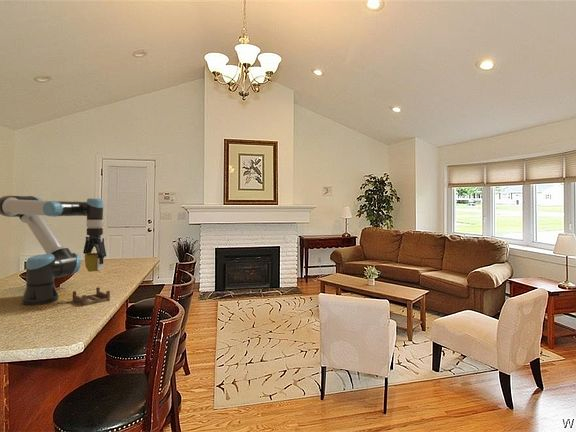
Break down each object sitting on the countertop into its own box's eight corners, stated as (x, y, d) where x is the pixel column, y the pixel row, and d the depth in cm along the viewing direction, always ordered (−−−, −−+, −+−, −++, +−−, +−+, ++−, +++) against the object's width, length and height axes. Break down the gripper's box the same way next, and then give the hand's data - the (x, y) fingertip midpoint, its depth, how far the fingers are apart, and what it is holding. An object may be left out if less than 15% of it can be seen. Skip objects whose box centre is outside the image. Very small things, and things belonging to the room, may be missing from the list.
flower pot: (103, 271, 181) (103, 254, 181) (84, 272, 177) (84, 255, 177) (104, 268, 189) (104, 252, 189) (85, 269, 185) (85, 253, 185)
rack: (83, 305, 170) (83, 295, 170) (72, 301, 178) (72, 291, 177) (109, 300, 180) (109, 291, 180) (98, 296, 188) (98, 287, 188)
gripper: (114, 228, 179) (113, 270, 179) (90, 226, 192) (90, 265, 193) (99, 229, 173) (99, 272, 173) (76, 226, 186) (75, 266, 186)
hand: (94, 268), depth 183 cm, fingers closed on flower pot, 11 cm apart
